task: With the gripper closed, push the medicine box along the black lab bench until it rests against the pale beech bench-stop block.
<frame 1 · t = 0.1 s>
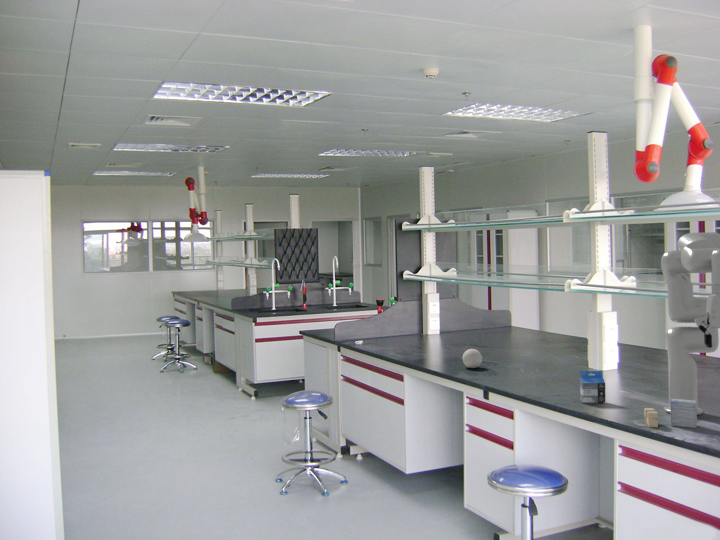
bench stop: (651, 424, 222), on the counter
blue and grey box: (592, 403, 256), on the counter
medicine box: (683, 426, 220), on the counter
grey felt ball: (472, 368, 335), on the counter
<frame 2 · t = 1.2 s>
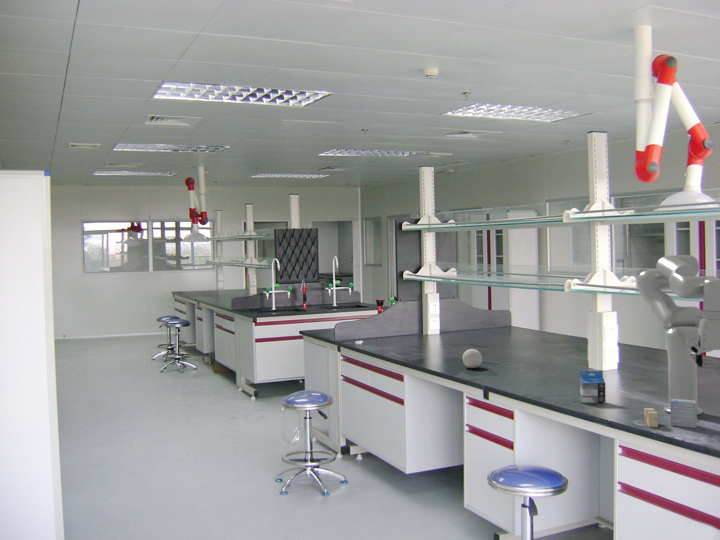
hand: (715, 366, 215), 21 cm above the counter, fingers open, 9 cm apart
nothing on the counter moved.
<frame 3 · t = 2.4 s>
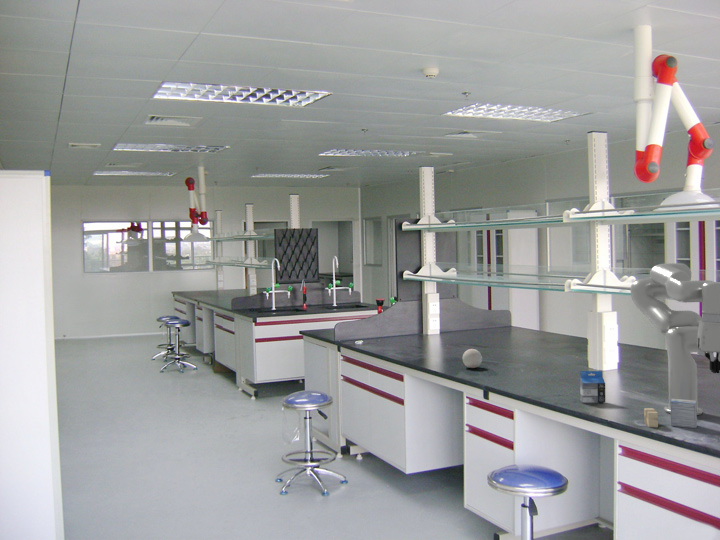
hand: (715, 372, 218), 19 cm above the counter, fingers closed
nothing on the counter moved.
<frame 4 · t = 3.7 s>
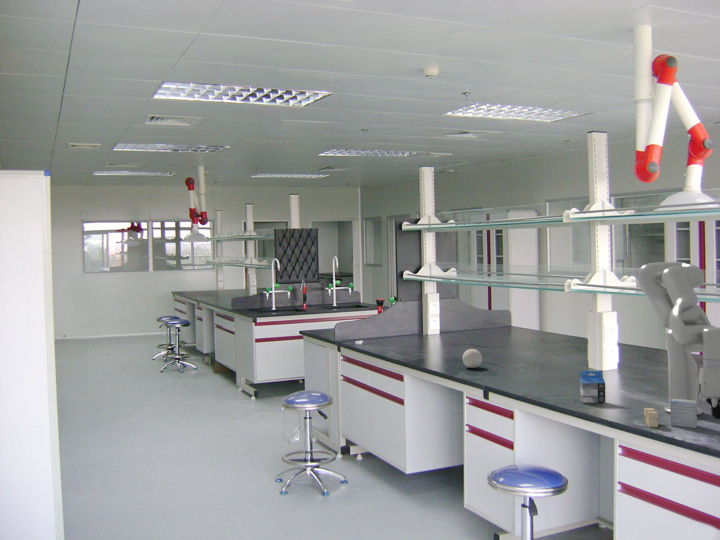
hand: (717, 418, 217), 3 cm above the counter, fingers closed
nothing on the counter moved.
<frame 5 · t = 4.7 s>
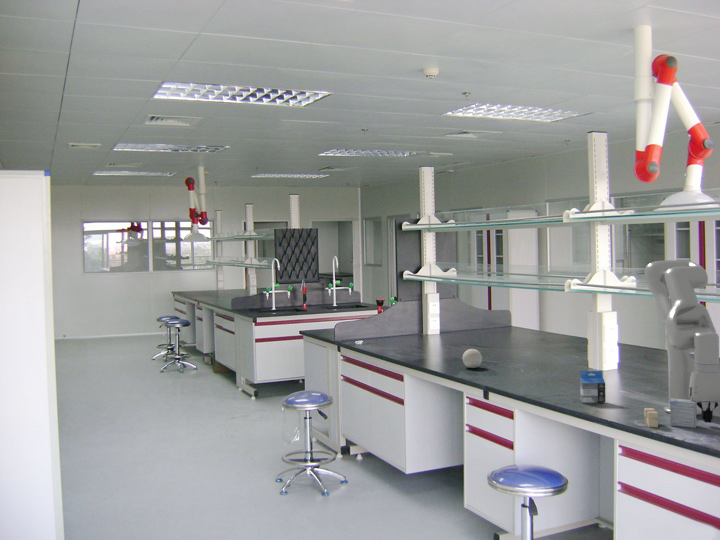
hand: (707, 421, 219), 2 cm above the counter, fingers closed
medicine box: (683, 426, 220), on the counter, touching gripper
everything else where it was.
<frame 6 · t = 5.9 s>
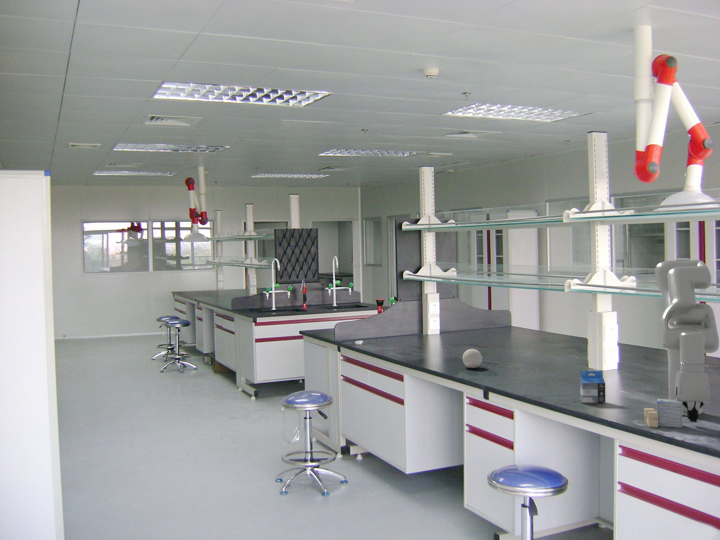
hand: (692, 421, 220), 2 cm above the counter, fingers closed
medicine box: (669, 426, 221), on the counter, touching gripper
everything else where it was.
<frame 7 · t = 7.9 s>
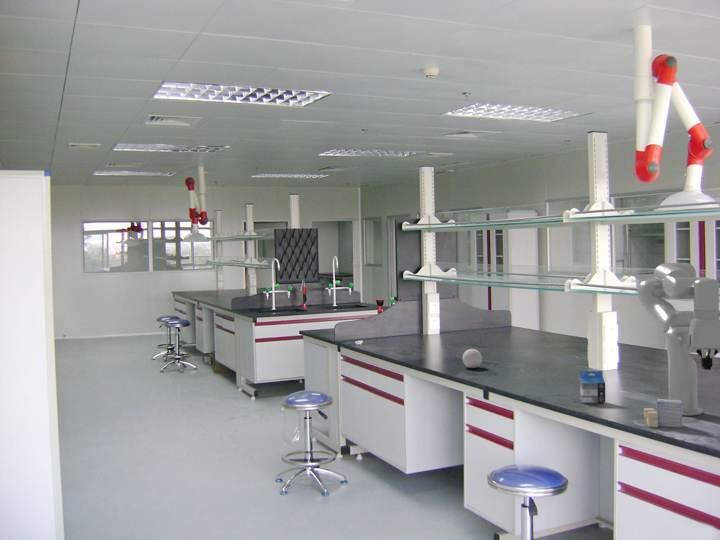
hand: (706, 369, 218), 20 cm above the counter, fingers closed
medicine box: (669, 426, 221), on the counter
everything else where it was.
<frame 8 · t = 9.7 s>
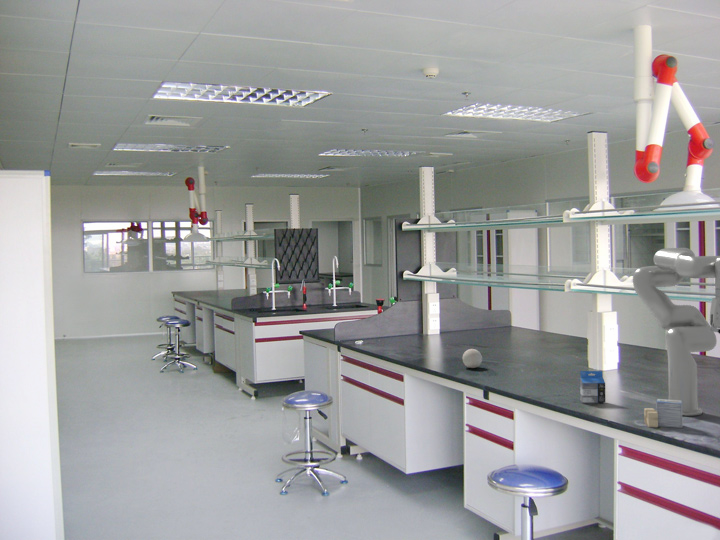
nothing on the counter moved.
at the end: medicine box 0.6 cm from the target spot, on the counter; medicine box tilted 0°; medicine box moved 4.7 cm from its start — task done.
